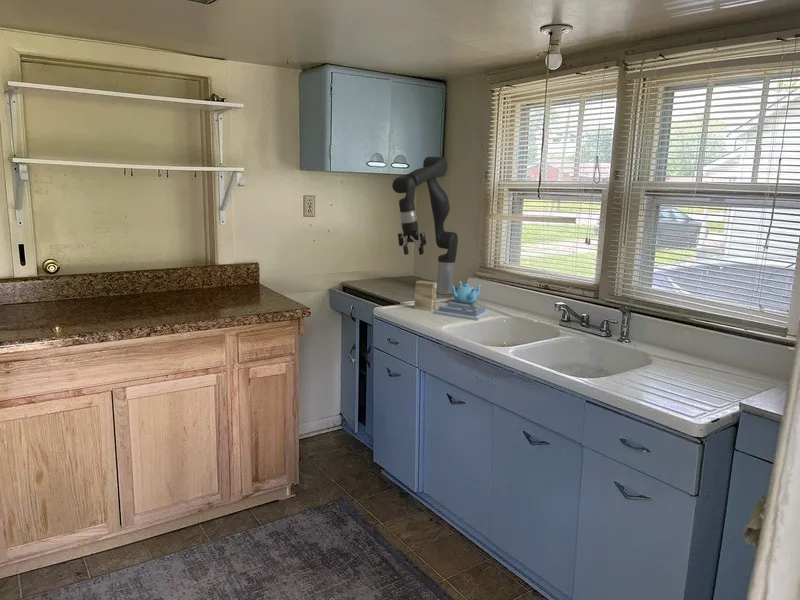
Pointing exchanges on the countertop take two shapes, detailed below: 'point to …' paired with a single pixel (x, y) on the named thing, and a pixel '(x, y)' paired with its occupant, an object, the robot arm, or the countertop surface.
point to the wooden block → (425, 295)
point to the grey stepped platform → (462, 311)
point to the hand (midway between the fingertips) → (414, 254)
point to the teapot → (465, 293)
